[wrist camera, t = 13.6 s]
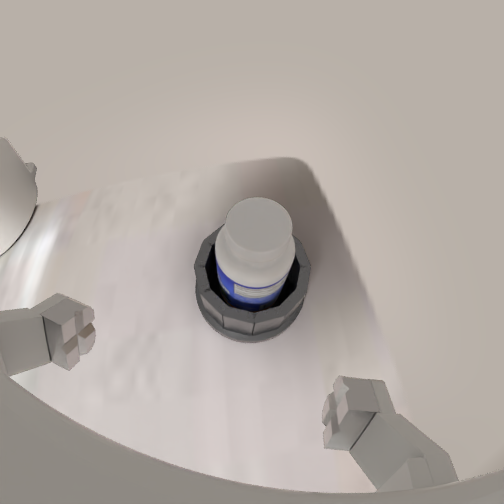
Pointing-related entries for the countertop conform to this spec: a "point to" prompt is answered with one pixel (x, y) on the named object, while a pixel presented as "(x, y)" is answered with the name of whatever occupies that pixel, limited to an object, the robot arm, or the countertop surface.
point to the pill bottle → (254, 253)
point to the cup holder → (240, 321)
